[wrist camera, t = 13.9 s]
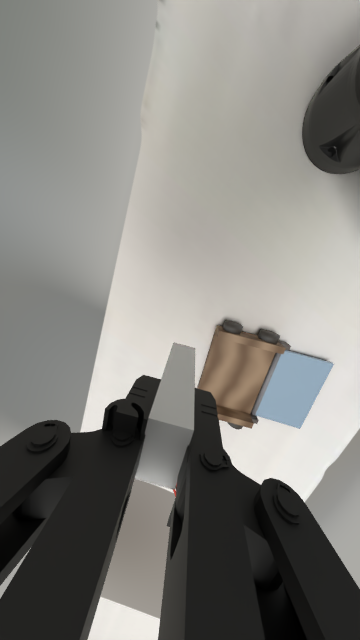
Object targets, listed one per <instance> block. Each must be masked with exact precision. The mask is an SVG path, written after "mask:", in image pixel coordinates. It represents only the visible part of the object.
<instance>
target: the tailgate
mask: <svg viewBox="0 0 360 640" xmlns="http://www.w3.org/2000/svg"><path fill="white" fill-rule="evenodd" d="M333 365H334V364H333V363H331V362H329V361H325V360H322V359H318V358H314V357H311V356H307V355H303V354H299V353H296V352H292V351H288V350H285V352H284V354H279V353H275V356H274V358H273V360H272V363H271V365H270V368H269V370H268V372H267V375H266V377H265V380H264V382H263V384H262V387H261V389H260V392H259V394H258V396H257V399H256V401H255V404H254V406H253V408H252V411H251V413H252V414H253V415H256V416H260V417H263V418H266V419H270V420H273V421H276V422H279V423H283V424H286V425H289V426H293V427H296V428H299V429H300V428H301V426H302V424H303V422H304V420H305V418H306V416H307V415H308V413H309V411H310V409H311V407H312V405H313V403H314V401H315V399H316V397H317V395H318V393H319V392H320V390H321V388H322V386H323V384H324V382H325V380H326V378H327V376H328V374H329V372H330V370H331V369H332V367H333Z"/></svg>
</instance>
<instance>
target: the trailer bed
mask: <svg viewBox="0 0 360 640" xmlns="http://www.w3.org/2000/svg"><path fill="white" fill-rule="evenodd" d="M242 328H243V326H242V325H241V324H239V323H236V322H233V321H228V320H225V321H224V325H223V326H219V325H217V327H216V330H215V333H214V336H213V339H212V343H211V346H210V349H209V352H208V356H207V359H206V362H205V365H204V369H203V372H202V375H201V378H200V382H199V385H198V388H197V389H201V390H205V391H209V392H211V394H212V395H213V397H214V398H215V400H216V406H217V413H218V419H219V420H222V421H226V422H228V424H229V425H230V426H231V427H233V428H235V429H242V427H243V426H244V427H248V428H252V426H253V424H254V423H256V424H257V422H258V419H257V416H256V415H253V414H252V413H251V410H252V408H253V406H254V403H255V401H256V398H257V396H258V394H259V391H260V389H261V386H262V384H263V382H264V379H265V377H266V374H267V372H268V370H269V367H270V365H271V362H272V360H273V358H274V355H275V353H279V354H284V352H285V350H289V349H290V347H291V346H290V345H289V344H287V343H286V342H283V341H280V340H279V338H280V335H278V334H276V333H274V332H271V331H268V330H264V329H261V330H260V332H259V335H254V334H250V333H246V332H243V331H242Z"/></svg>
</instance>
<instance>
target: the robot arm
mask: <svg viewBox="0 0 360 640" xmlns="http://www.w3.org/2000/svg"><path fill="white" fill-rule="evenodd" d="M303 142H304V147H305V150H306V153H307V155H308V156H309V158H310V160H311V161H312V162H313V163H314V164H315V165H316V166H317V167H318V168H320V169H321V170H323V171H326V172H329V173H334V174H344V173H349V172H353V171H356V170H358V169H360V45H359V46H358V47H357V48H356V49H355V50H354V51H352V52H351V53H350V54H349V55H348V56H347V57H346V58H345V59H343V60H342V61H341V62H340V63H339V64H338V65H337V66H336V67H335V68H334V69H333V70H332V71H331V72H330V73H329V75H328V76H327V77H326V78H325V80H324V81H323V83H322V84H321V86H320V87H319V89H318V90H317V92H316V93H315V95H314V96H313V98H312V100H311V102H310V104H309V106H308V109H307V111H306V115H305V118H304V124H303ZM134 479H138V480H141V481H145V482H148V483H152V484H155V485H159V486H163V487H166V488H170V489H173V490H175V487H176V484H177V489H176V498H175V501H174V504H173V507H172V511H171V513H170V516H169V520H168V523H167V526H169V527H170V533H169V542H168V552H167V561H166V570H165V580H164V589H163V599H162V608H161V618H160V627H159V636H158V640H360V589H359V587H358V586H357V584H356V583H355V581H354V580H353V578H352V576H351V575H350V573H349V572H348V570H347V569H346V567H345V565H344V564H343V562H342V561H341V559H340V558H339V556H338V554H337V553H336V551H335V550H334V548H333V547H332V545H331V543H330V542H329V540H328V539H327V537H326V535H325V534H324V532H323V531H322V529H321V528H320V526H319V524H318V523H317V521H316V520H315V518H314V516H313V515H312V514H311V512H310V510H309V509H308V507H307V505H306V504H305V503H304V501H303V500H302V499H301V498H300V496H299V495H298V494H297V493H296V492H295V491H294V490H293V489H292V488H291V487H289V486H288V485H287V484H285V483H283V482H282V481H280V480H277V479H273V478H269V479H266V480H264V481H263V483H262V485H260V484H258V483H257V482H255V481H253V480H252V479H250V478H249V477H247V476H245V475H244V474H242V473H241V472H240V471H238V470H237V469H236V468H235V467H234V466H233V465H232V462H231V460H230V457H229V456H228V454H227V453H226V451H225V450H224V449H223V446H222V439H221V433H220V426H219V419H218V413H217V406H216V400H215V398H214V397H213V395H212V394H211V392H209V391H205V390H201V389H197V388H195V348H193V347H189V346H185V345H181V344H177V343H173V346H172V349H171V352H170V355H169V358H168V361H167V364H166V367H165V370H164V373H163V376H162V379H157V378H153V377H149V376H145V375H143V376H141V377H140V378H138V379H136V381H135V383H134V385H133V386H132V388H131V390H130V392H129V394H128V395H127V397H126V399H120V400H116V401H114V402H112V403H110V404H109V405H108V406H107V407H106V408H105V413H104V420H103V426H102V429H100V430H97V431H93V432H82V433H71V431H70V427H69V426H68V425H67V424H66V423H64V422H61V421H58V420H47V421H44V422H40V423H37V424H35V425H33V426H31V427H29V428H27V429H25V430H24V431H23V432H21V433H20V434H18V435H17V436H15V437H14V438H12V439H11V440H9V441H8V442H6V443H5V444H3V445H2V446H0V585H1V584H2V583H3V582H4V580H5V579H6V578H7V576H8V575H9V574H10V573H11V572H12V570H13V569H14V568H15V567H16V565H17V564H18V563H19V562H20V560H21V559H22V558H23V556H24V555H25V554H26V553H27V552H28V550H29V549H30V548H31V549H30V550H29V552H28V554H27V555H26V557H25V559H24V560H23V562H22V564H21V565H20V567H19V569H18V570H17V572H16V574H15V575H14V577H13V579H12V580H11V582H10V584H9V585H8V587H7V589H6V590H5V592H4V594H3V595H2V597H1V599H0V640H87V639H88V636H89V632H90V629H91V626H92V622H93V619H94V615H95V612H96V609H97V605H98V602H99V599H100V595H101V591H102V589H103V585H104V582H105V578H106V575H107V572H108V568H109V565H110V562H111V558H112V555H113V551H114V548H115V544H116V541H117V538H118V535H119V531H120V528H121V524H122V521H123V517H124V514H125V511H126V508H127V504H128V501H129V497H130V493H131V489H132V485H133V482H134Z"/></svg>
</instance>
